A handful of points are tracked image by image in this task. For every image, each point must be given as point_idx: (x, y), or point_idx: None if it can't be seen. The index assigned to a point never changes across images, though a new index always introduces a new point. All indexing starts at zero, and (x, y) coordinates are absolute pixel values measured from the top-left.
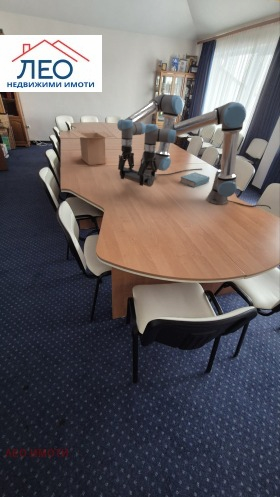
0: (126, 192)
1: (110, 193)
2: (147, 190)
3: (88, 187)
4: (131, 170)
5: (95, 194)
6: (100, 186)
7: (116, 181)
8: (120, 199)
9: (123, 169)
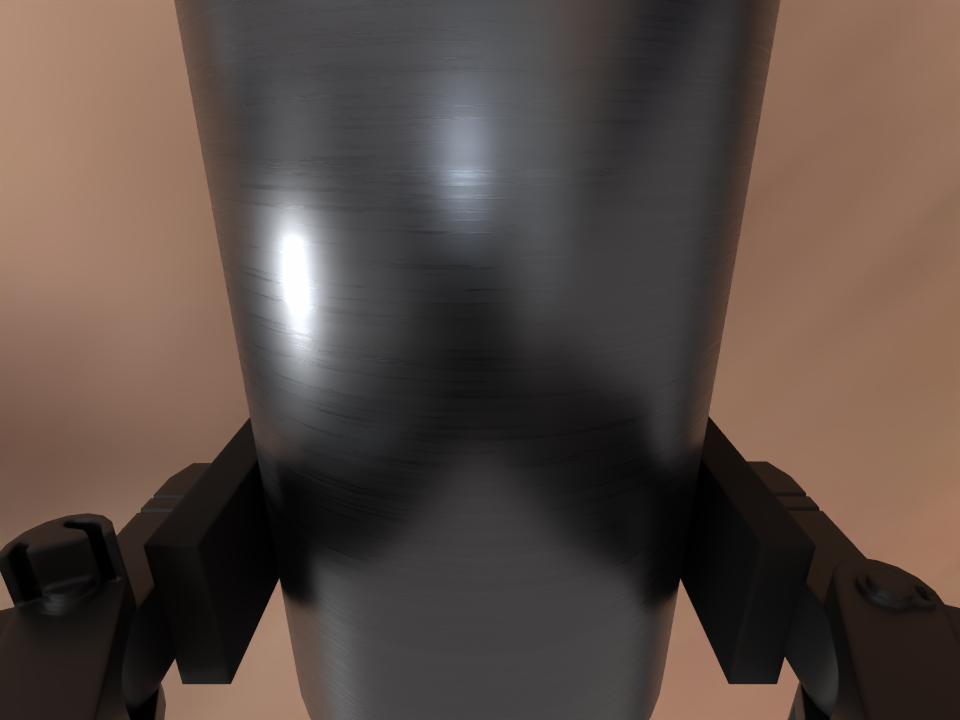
0: None
1: None
2: (77, 48)
3: (723, 704)
4: (607, 183)
5: (865, 519)
6: None
7: (289, 642)
8: (809, 132)
9: (636, 648)
